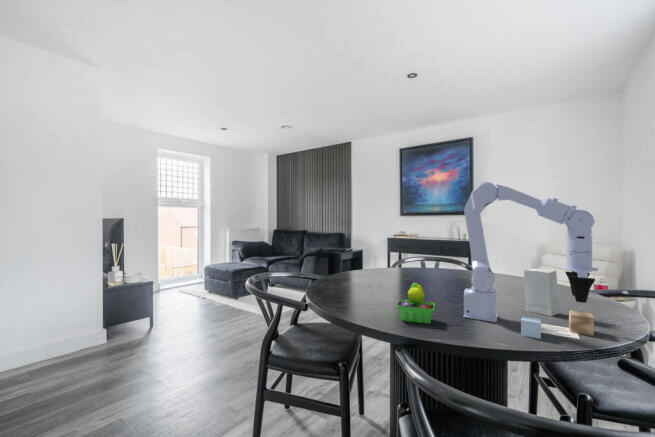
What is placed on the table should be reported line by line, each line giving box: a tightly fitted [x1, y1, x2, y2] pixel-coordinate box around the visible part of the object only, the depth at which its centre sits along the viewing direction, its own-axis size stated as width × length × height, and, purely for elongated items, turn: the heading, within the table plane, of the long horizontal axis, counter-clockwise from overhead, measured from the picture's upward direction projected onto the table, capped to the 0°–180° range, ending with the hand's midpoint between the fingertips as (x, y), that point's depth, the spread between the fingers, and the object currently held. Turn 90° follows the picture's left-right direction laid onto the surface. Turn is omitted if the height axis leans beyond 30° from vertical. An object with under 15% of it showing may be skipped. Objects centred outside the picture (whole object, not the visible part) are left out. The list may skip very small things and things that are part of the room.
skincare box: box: [523, 267, 560, 317], centre depth 106 cm, size 8×6×15 cm
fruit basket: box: [396, 282, 436, 325], centre depth 99 cm, size 11×9×11 cm
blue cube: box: [520, 315, 542, 340], centre depth 85 cm, size 4×4×4 cm
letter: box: [541, 323, 581, 340], centre depth 89 cm, size 12×9×1 cm
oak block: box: [568, 309, 595, 337], centre depth 88 cm, size 5×5×5 cm
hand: (579, 299), depth 88 cm, fingers open, 7 cm apart
